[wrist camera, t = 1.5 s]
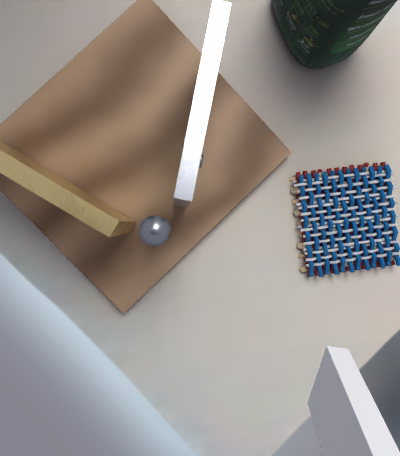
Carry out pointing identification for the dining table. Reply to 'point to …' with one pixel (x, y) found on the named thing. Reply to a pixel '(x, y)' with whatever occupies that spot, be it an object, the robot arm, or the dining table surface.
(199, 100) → the steel leaf and pin
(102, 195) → the walnut board
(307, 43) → the coffee jar
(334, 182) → the woven mat
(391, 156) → the dining table surface
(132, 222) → the panel
